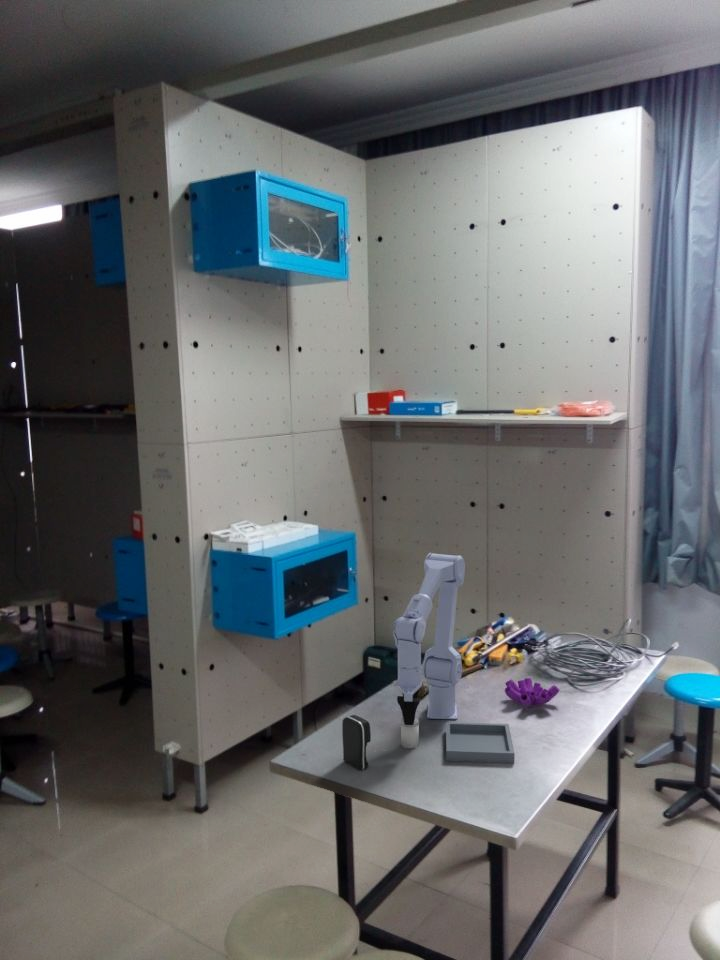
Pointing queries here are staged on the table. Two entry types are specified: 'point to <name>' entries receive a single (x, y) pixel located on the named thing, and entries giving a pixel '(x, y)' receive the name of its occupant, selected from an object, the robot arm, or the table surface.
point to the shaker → (410, 734)
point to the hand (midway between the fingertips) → (409, 717)
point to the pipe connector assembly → (529, 692)
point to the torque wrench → (425, 685)
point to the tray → (479, 742)
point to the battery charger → (355, 741)
